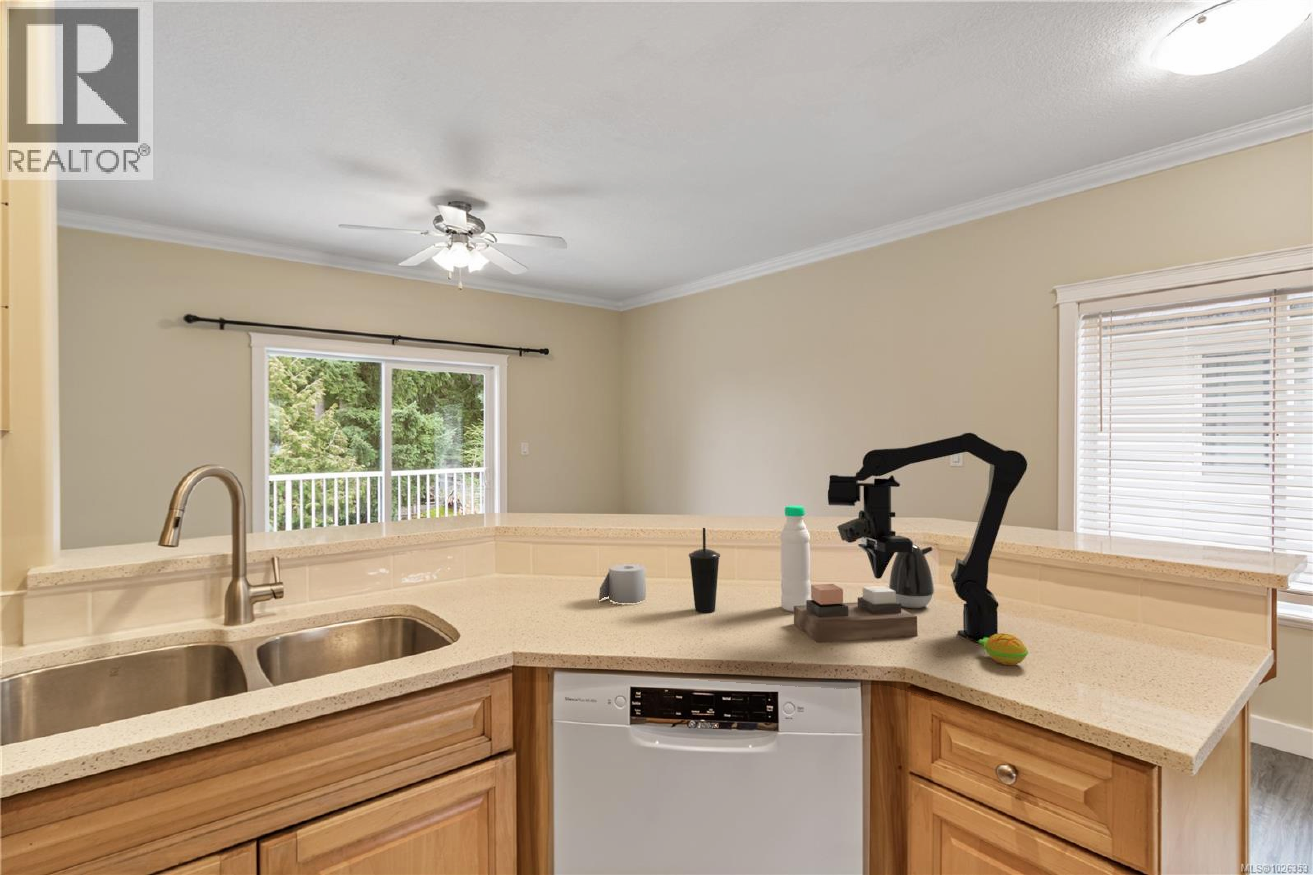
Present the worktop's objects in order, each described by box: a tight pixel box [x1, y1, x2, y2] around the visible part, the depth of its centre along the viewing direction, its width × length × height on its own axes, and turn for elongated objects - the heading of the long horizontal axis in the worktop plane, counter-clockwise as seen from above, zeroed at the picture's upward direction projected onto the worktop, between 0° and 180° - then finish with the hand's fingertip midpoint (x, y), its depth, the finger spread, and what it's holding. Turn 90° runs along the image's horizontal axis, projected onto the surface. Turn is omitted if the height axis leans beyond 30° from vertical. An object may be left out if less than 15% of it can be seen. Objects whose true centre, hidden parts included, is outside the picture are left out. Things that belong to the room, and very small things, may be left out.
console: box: [793, 596, 918, 643], centre depth 135 cm, size 13×22×6 cm, turn 99°
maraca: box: [978, 632, 1029, 666], centre depth 115 cm, size 7×10×5 cm
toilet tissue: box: [598, 563, 647, 603], centre depth 161 cm, size 9×13×9 cm
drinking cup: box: [688, 527, 721, 614], centre depth 152 cm, size 8×8×20 cm
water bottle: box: [780, 505, 812, 613], centre depth 152 cm, size 7×7×25 cm
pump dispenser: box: [888, 543, 935, 609], centre depth 154 cm, size 10×10×15 cm
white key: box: [862, 585, 896, 604], centre depth 136 cm, size 5×5×3 cm
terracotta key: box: [810, 583, 844, 605], centre depth 134 cm, size 5×5×3 cm
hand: (877, 578), depth 136 cm, fingers closed
